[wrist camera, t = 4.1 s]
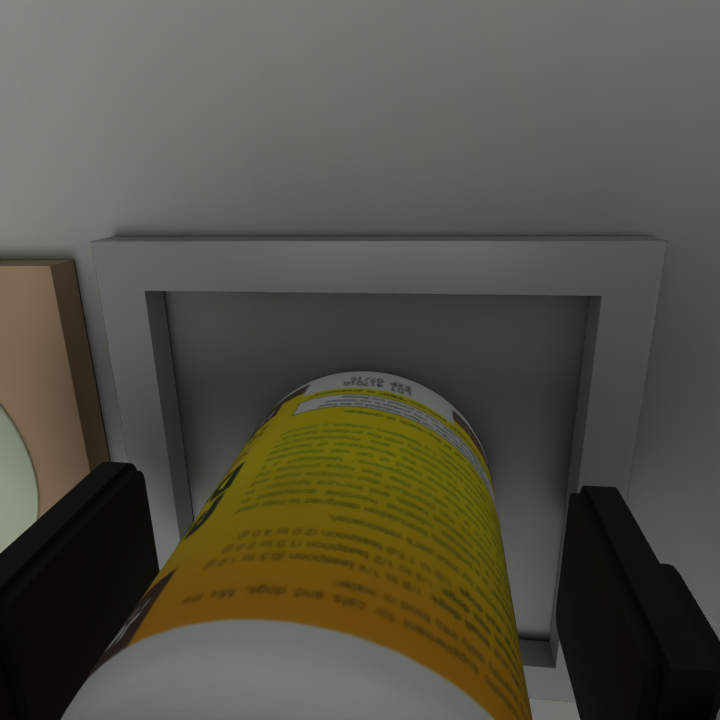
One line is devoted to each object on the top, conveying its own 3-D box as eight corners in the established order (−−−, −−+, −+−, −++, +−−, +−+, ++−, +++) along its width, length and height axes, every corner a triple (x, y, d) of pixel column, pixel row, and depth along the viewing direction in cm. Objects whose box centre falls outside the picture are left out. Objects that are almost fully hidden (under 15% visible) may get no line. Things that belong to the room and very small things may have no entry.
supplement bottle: (266, 340, 13) (-290, 908, 3) (516, 389, 12) (811, 1223, 3) (244, 545, 14) (-137, 1295, 5) (459, 593, 14) (508, 1509, 4)
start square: (651, 235, 11) (667, 241, 10) (586, 676, 14) (594, 704, 14) (112, 236, 12) (90, 241, 11) (174, 638, 16) (161, 661, 15)
